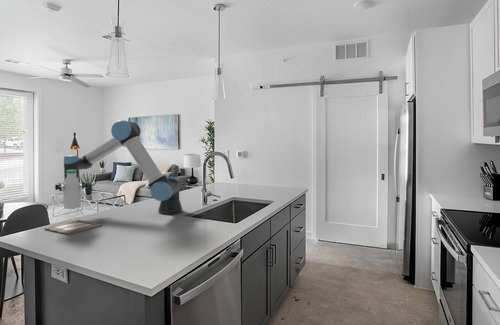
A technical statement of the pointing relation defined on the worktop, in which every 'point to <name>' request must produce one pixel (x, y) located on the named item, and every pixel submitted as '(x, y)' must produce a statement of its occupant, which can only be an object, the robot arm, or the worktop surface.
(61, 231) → the writing board
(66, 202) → the milk bottle
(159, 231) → the worktop surface
